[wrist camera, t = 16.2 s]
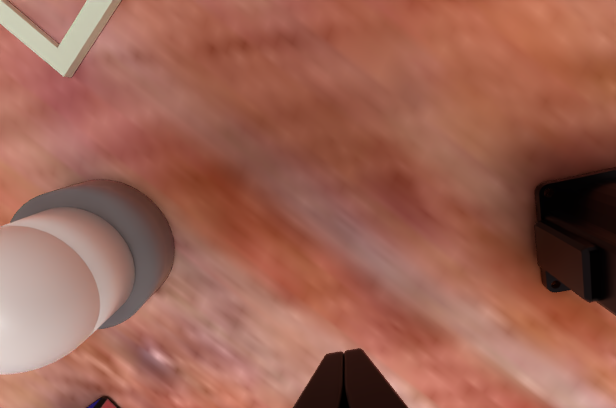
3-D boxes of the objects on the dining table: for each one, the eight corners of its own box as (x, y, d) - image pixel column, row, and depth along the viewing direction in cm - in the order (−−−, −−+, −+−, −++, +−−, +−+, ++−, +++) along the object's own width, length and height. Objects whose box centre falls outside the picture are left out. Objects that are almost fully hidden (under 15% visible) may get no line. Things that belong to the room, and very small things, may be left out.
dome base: (148, 166, 21) (119, 175, 18) (191, 289, 23) (171, 315, 20) (25, 195, 22) (-21, 208, 19) (76, 311, 24) (41, 340, 21)
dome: (108, 194, 18) (-6, 240, 12) (151, 307, 20) (70, 398, 13) (-4, 221, 19) (-166, 276, 13) (46, 327, 20) (-77, 423, 14)
